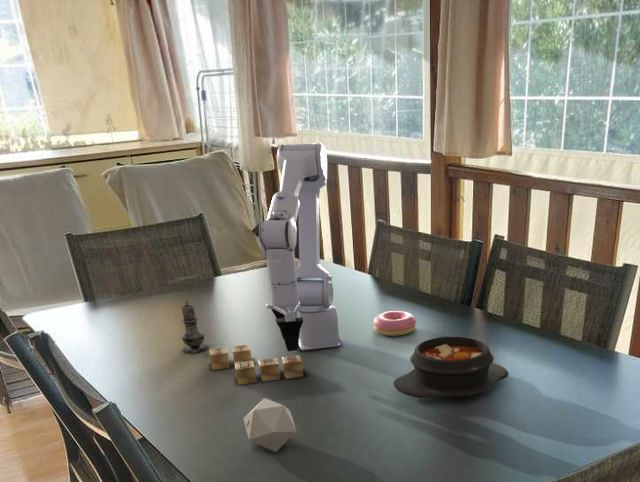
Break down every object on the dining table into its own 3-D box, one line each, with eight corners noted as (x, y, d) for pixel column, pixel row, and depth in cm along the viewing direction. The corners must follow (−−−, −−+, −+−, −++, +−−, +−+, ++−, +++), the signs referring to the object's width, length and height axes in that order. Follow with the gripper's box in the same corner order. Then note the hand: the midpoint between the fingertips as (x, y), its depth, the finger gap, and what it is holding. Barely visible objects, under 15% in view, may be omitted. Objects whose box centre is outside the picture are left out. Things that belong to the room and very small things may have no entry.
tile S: (301, 370, 156) (299, 354, 154) (303, 376, 152) (301, 360, 150) (283, 372, 155) (281, 356, 153) (285, 378, 152) (283, 363, 150)
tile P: (278, 372, 155) (276, 357, 153) (280, 379, 151) (278, 363, 149) (260, 375, 154) (258, 359, 152) (262, 381, 151) (260, 365, 149)
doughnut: (366, 335, 174) (365, 319, 171) (382, 322, 182) (382, 306, 180) (407, 339, 170) (407, 323, 168) (421, 325, 178) (421, 309, 176)
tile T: (251, 359, 163) (249, 344, 161) (252, 365, 160) (250, 349, 158) (234, 361, 162) (231, 346, 160) (235, 367, 159) (232, 352, 157)
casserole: (422, 416, 132) (422, 375, 128) (377, 384, 146) (375, 346, 142) (527, 388, 142) (530, 348, 137) (475, 361, 156) (476, 324, 151)
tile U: (255, 375, 154) (252, 360, 152) (256, 382, 150) (254, 366, 149) (237, 378, 153) (234, 362, 151) (238, 384, 150) (235, 368, 148)
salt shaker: (201, 353, 168) (192, 304, 161) (179, 352, 169) (169, 304, 162) (211, 345, 173) (202, 297, 166) (189, 344, 174) (180, 297, 167)
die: (261, 434, 130) (228, 406, 122) (300, 410, 128) (269, 380, 120) (270, 468, 125) (237, 441, 117) (310, 443, 123) (280, 414, 115)
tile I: (229, 361, 162) (226, 346, 160) (230, 367, 159) (227, 352, 157) (211, 364, 161) (209, 349, 159) (212, 370, 158) (209, 354, 156)
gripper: (260, 274, 148) (268, 336, 155) (267, 292, 136) (275, 358, 143) (293, 271, 149) (299, 332, 157) (302, 288, 137) (309, 353, 145)
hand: (290, 344), depth 150 cm, fingers open, 7 cm apart
